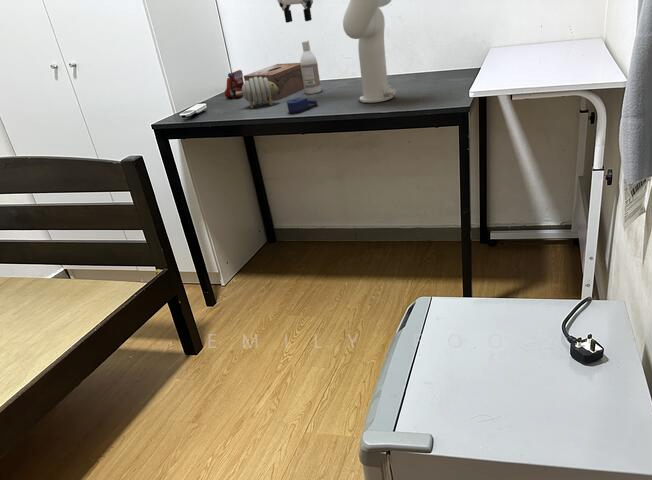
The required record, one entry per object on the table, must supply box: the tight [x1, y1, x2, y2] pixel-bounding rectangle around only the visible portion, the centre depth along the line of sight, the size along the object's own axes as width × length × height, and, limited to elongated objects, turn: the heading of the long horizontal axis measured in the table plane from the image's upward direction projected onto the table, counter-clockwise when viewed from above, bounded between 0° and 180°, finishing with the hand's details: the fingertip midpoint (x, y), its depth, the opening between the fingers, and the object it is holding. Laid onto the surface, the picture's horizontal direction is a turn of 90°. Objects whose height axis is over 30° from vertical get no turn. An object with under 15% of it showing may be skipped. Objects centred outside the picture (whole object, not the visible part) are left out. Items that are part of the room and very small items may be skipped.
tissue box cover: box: [243, 62, 305, 101], centre depth 240 cm, size 26×14×10 cm, turn 155°
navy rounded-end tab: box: [286, 97, 318, 115], centre depth 207 cm, size 12×5×4 cm, turn 145°
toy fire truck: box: [224, 69, 245, 99], centre depth 244 cm, size 7×12×10 cm, turn 158°
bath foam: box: [299, 40, 322, 95], centre depth 230 cm, size 7×7×20 cm
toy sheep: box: [235, 77, 278, 109], centre depth 221 cm, size 11×17×11 cm, turn 106°
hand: (298, 21), depth 209 cm, fingers open, 9 cm apart
